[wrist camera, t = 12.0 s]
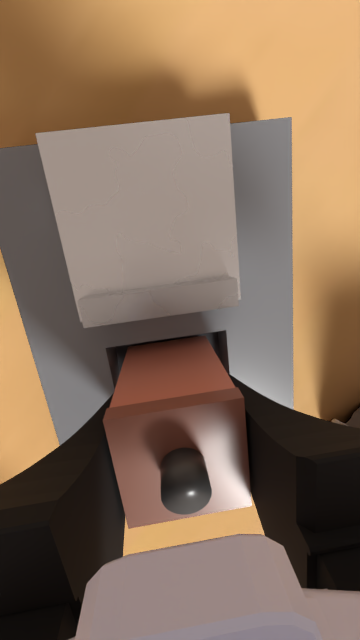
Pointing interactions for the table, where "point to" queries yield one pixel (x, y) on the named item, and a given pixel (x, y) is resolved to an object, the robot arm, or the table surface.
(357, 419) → the electrical switch
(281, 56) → the table surface
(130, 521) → the plug
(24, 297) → the socket plate
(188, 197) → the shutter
